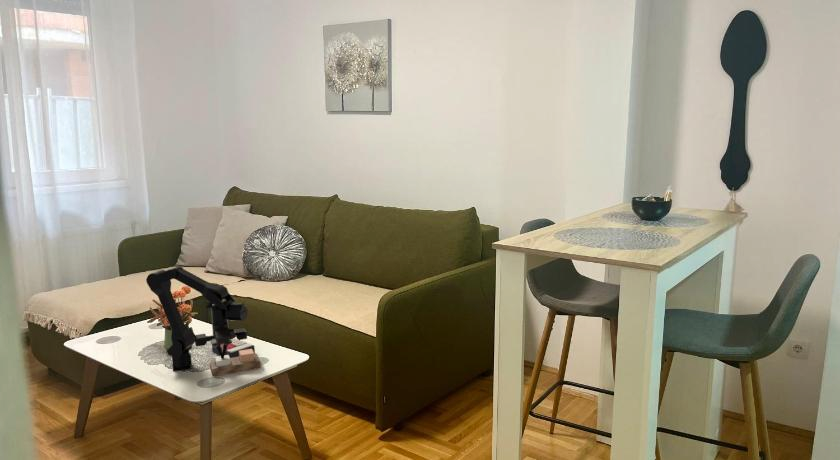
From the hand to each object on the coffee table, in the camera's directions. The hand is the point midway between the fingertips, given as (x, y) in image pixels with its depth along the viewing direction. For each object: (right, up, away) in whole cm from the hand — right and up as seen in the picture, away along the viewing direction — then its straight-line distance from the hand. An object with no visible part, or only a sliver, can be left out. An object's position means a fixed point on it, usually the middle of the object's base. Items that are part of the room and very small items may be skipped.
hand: (222, 358), depth 238 cm
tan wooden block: (+8, -2, +4) cm, 9 cm away
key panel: (+4, -5, +3) cm, 7 cm away
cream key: (0, -4, +1) cm, 4 cm away
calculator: (-1, -2, +19) cm, 19 cm away
